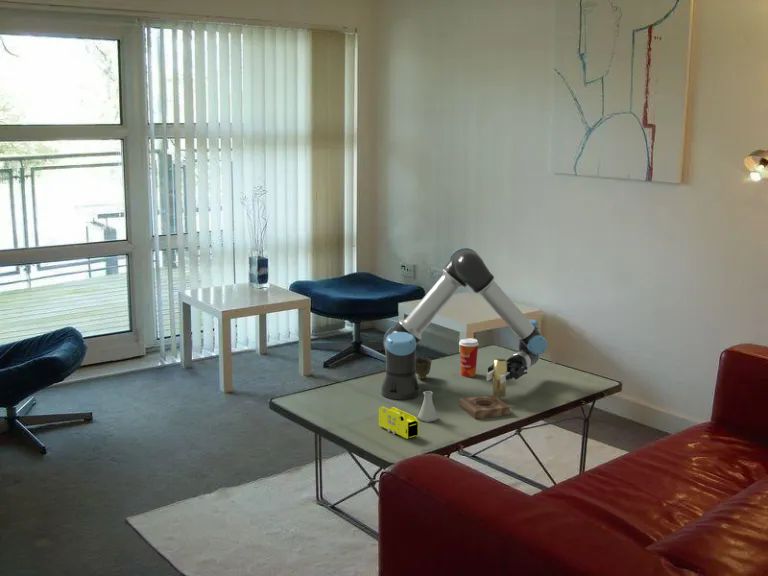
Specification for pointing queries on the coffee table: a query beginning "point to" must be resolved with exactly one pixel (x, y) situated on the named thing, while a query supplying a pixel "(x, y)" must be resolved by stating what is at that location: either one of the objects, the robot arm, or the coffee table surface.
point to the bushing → (499, 370)
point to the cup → (422, 367)
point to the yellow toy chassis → (398, 422)
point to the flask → (427, 408)
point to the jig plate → (484, 407)
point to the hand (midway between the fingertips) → (494, 378)
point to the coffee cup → (468, 356)
